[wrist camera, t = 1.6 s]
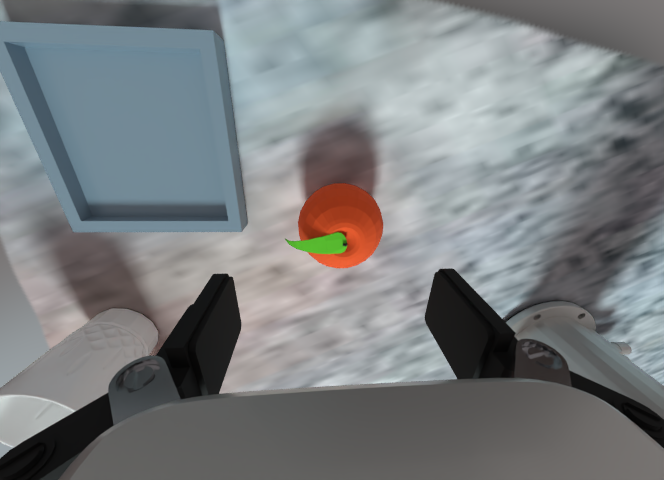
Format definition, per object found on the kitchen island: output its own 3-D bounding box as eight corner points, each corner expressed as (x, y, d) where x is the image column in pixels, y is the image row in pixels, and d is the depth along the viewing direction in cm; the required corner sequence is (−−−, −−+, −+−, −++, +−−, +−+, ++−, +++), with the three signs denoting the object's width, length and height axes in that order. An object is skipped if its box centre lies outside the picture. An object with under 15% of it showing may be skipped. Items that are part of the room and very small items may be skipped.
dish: (223, 40, 18) (212, 30, 16) (247, 223, 23) (241, 231, 22) (13, 31, 17) (-23, 20, 15) (92, 223, 23) (73, 232, 21)
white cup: (73, 324, 27) (-49, 423, 18) (121, 290, 26) (14, 379, 17) (133, 364, 30) (55, 466, 21) (179, 335, 29) (116, 432, 20)
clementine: (297, 251, 25) (290, 295, 19) (282, 184, 22) (267, 207, 16) (375, 239, 25) (396, 279, 18) (370, 170, 22) (392, 187, 16)
